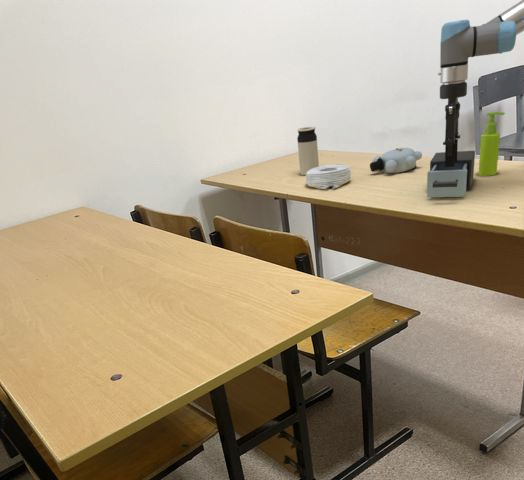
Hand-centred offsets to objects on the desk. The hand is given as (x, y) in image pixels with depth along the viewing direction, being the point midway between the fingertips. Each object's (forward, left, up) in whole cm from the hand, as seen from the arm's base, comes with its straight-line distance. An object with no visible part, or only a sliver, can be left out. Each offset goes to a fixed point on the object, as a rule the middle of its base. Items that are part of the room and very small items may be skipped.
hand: (451, 163), depth 164 cm
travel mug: (+61, -41, -10) cm, 74 cm away
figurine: (+25, -39, -10) cm, 47 cm away
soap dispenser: (-10, -27, -10) cm, 31 cm away
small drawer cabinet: (+1, -12, -10) cm, 15 cm away
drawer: (+1, +2, -9) cm, 9 cm away
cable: (+47, -21, -10) cm, 52 cm away
